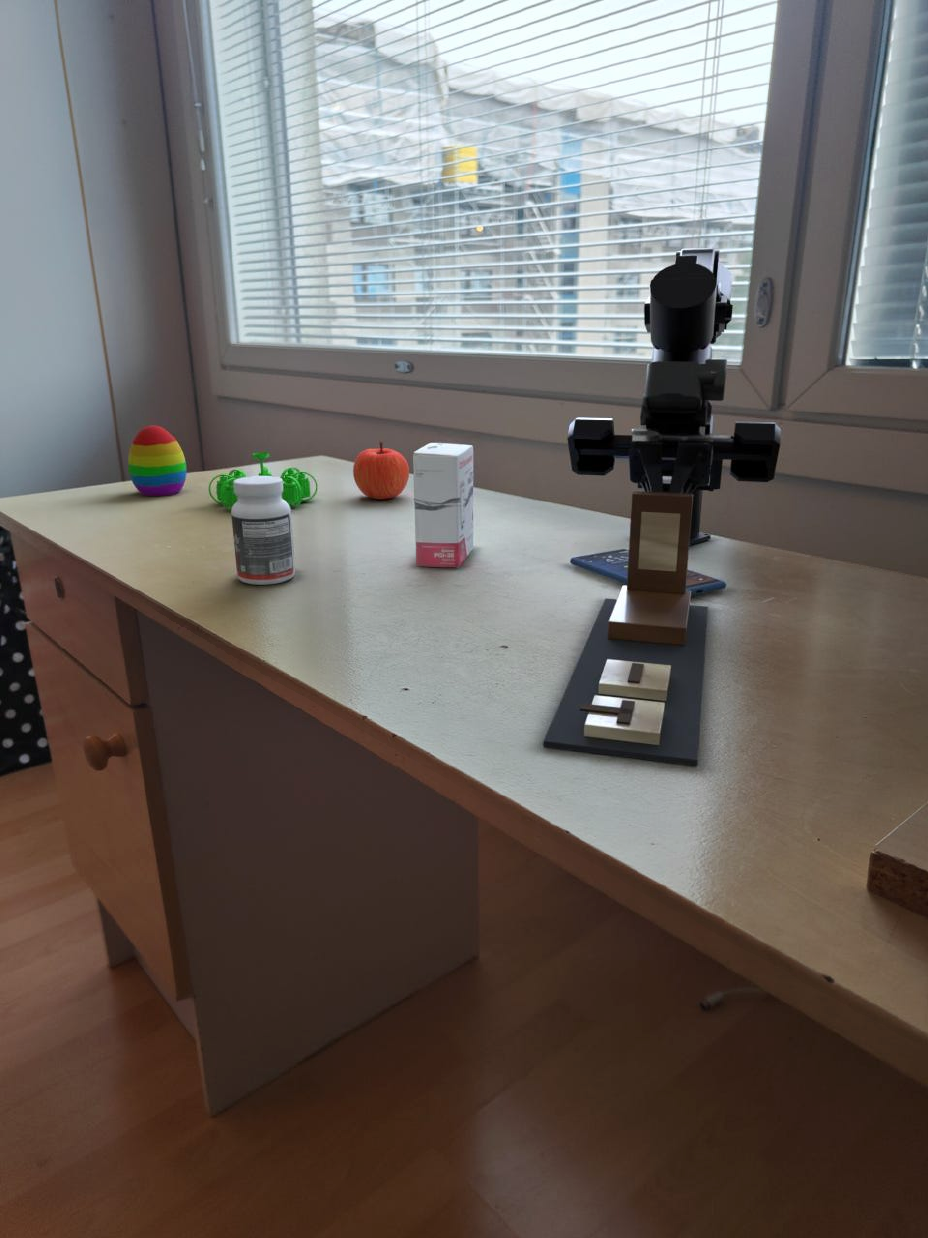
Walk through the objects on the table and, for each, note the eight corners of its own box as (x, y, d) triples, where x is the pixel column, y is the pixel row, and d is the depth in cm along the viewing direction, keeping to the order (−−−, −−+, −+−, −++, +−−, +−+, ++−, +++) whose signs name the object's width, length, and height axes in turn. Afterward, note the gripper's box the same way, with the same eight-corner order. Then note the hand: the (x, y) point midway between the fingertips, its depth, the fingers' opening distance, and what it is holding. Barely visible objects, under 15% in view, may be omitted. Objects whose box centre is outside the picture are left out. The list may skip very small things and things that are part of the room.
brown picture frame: (621, 601, 77) (627, 490, 74) (690, 606, 76) (699, 493, 72) (607, 639, 68) (613, 515, 65) (685, 646, 67) (695, 519, 63)
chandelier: (268, 489, 132) (265, 443, 130) (340, 499, 123) (337, 451, 121) (187, 505, 120) (181, 456, 118) (260, 518, 112) (255, 465, 110)
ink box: (459, 569, 89) (458, 454, 85) (413, 567, 90) (410, 453, 86) (475, 548, 97) (474, 442, 93) (432, 546, 98) (430, 441, 94)
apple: (361, 491, 129) (359, 438, 127) (414, 492, 128) (412, 438, 125) (347, 502, 122) (344, 445, 119) (403, 503, 121) (401, 446, 118)
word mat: (605, 602, 78) (605, 588, 78) (707, 610, 76) (708, 595, 75) (543, 747, 52) (543, 726, 51) (696, 766, 50) (698, 745, 49)
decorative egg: (139, 488, 133) (130, 422, 130) (193, 487, 134) (186, 421, 131) (125, 498, 125) (116, 429, 122) (183, 497, 126) (175, 428, 123)
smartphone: (669, 594, 77) (568, 557, 89) (668, 603, 77) (567, 564, 90) (729, 581, 81) (624, 547, 93) (728, 589, 81) (624, 554, 93)
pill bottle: (242, 570, 89) (233, 475, 86) (298, 569, 89) (291, 473, 86) (233, 587, 83) (223, 485, 80) (292, 585, 84) (284, 484, 81)
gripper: (574, 327, 78) (548, 467, 72) (792, 325, 73) (785, 476, 67) (583, 408, 88) (561, 538, 81) (776, 411, 83) (769, 550, 76)
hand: (662, 525), depth 76 cm, fingers closed
